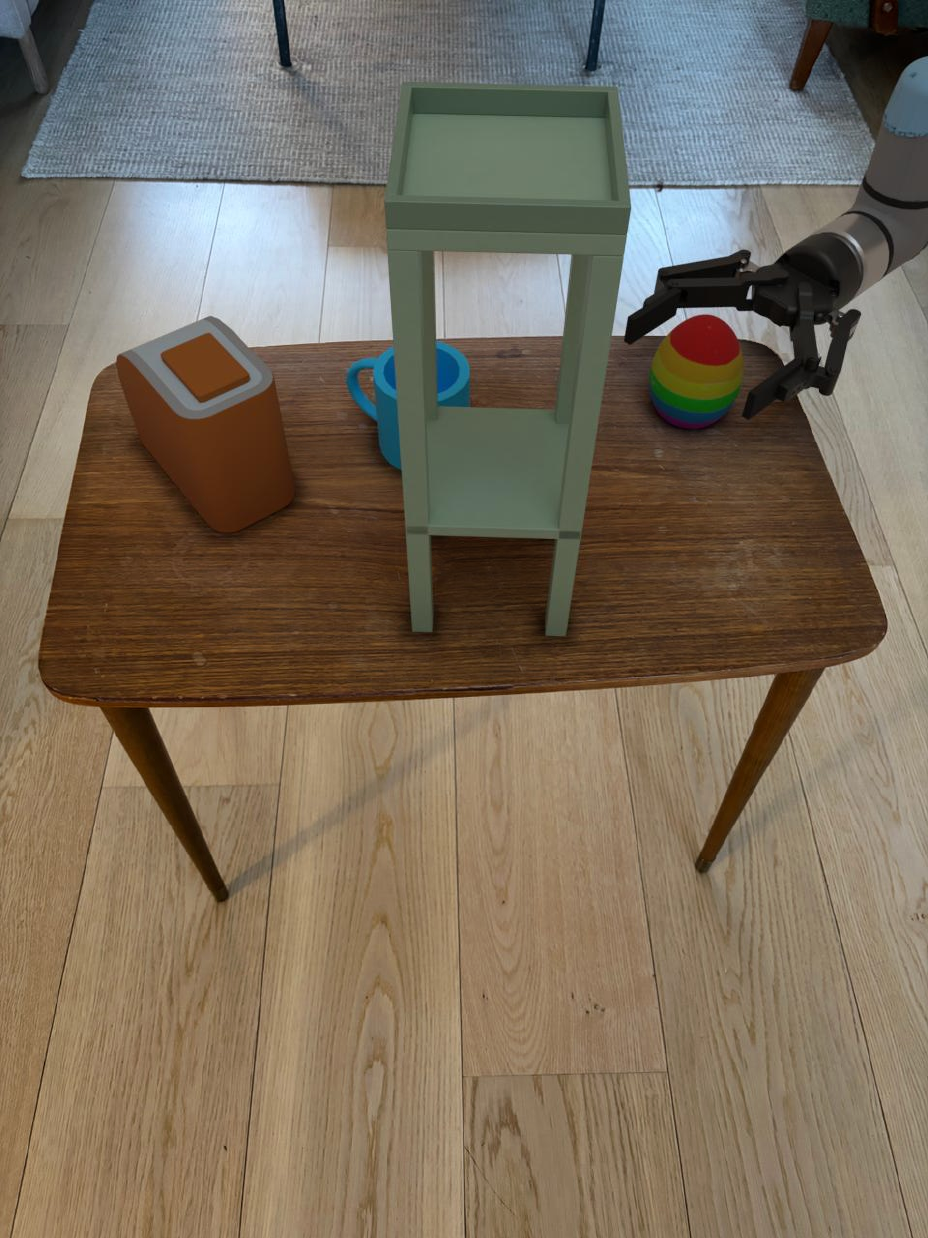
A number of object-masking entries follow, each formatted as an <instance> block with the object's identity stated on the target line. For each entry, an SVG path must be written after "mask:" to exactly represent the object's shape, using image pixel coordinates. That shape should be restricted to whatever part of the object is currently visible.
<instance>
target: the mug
mask: <svg viewBox="0 0 928 1238" xmlns="http://www.w3.org/2000/svg"><path fill="white" fill-rule="evenodd" d="M436 349H437V394H438V406H444V407H471V406H470V403H471V402H470V401H471V400H470V397H471V396H470V395H471V394H470V393H471V392H470V391H471V367H470V365H469V362H468V359H467V357H466V356H465V355H464V354H463V353H461V352H460V351H459V349H457V348H455V347H453V346H451V345H450V344H448V343H445V342H442V341H437V340H436ZM363 370H373V371H372V377H373V388H374V398H375V404H374V403H373V402H372V401H371V400H370V399H369V398H368V397H367V395H366V394H365V392H364V390H363V389H362V387H361V386H360V382H359V373H361V372H362V371H363ZM345 379H346V380H345V384H346V387H347V391H348V393H349V394H350V396H351V398H352V400H353V401H354V403H355V404H356V405H357V406H358V407H359V408H360V409H361V410H362V412H363V413H365V414H366V415H367V416H369V417H370V418H371V419H372V420H374V421H375V422H376V423H377V435H378V446H379V448H380V451H381V455H382V456H383V458H384V459H385V460H386V462H388V463H389V465H391V466H393V467H394V468H396V469H397V470H400V471H402V469H401V453H400V438H399V423H398V407H397V392H396V377H395V362H394V346H390V347H389V348H388V349H386V350H385V351H384V352H383V353H381V354H380V355H379V356H378V357H364V358H362V359H359V360H356V361H354V362H353V363H352V365H350V367H349V368H348V370H347V371H346V378H345Z"/></svg>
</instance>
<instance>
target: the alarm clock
mask: <svg viewBox="0 0 928 1238" xmlns="http://www.w3.org/2000/svg"><path fill="white" fill-rule="evenodd" d="M115 366H116V370H117V377H118V381H119V383H120V386H121V387H120V388H121V389H122V392H123V395H124V398H125V400H126V403H127V407H128V409H129V412H130V415H131V418H132V420H133V424H134V426H135V430H136V432H137V435H138V438H139V440H140V443H141V444H142V446H143V447H144V448H145V449H146V450H147V451H148V454H150V455H151V457H152V458H153V459H154V460H155V461H156V463H157V464H158V465H159V467H161V469H162V470H163V471H164V472H165V474H166V475H167V476H168V477H169V479H170V480H171V481H172V482H173V483H174V484H175V486H176V487H177V488H178V490H179V491H180V492H181V493H182V494H183V496H184V497H185V498H186V500H187V501H188V502H189V503H190V505H191V506H192V507H193V508H194V509H195V511H196V512H197V513H198V515H199V516H200V517H201V518H202V519H203V521H204V522H205V523H206V524H207V526H208V527H210V528H211V529H212V530H214V531H216V532H218V533H222V534H231V533H236V532H239V531H242V530H245V529H246V528H247V527H249V526H252V525H254V524H255V523H258V522H259V521H261V520H263V519H265V518H267V517H269V516H271V515H273V514H274V513H276V512H278V511H281V510H282V509H285V508H286V507H287V506H289V505H290V504H291V502H293V500H294V498H295V496H296V486H295V480H294V477H293V476H294V474H293V471H292V465H291V459H290V455H289V449H288V444H287V440H286V434H285V427H284V423H283V422H284V421H283V418H282V412H281V407H280V402H279V401H280V400H279V397H278V391H277V385H276V380H275V375H274V373H273V371H272V370H271V369H270V368H269V367H268V365H266V364H265V363H264V361H263V360H261V358H260V357H259V356H258V355H257V354H256V353H255V352H254V351H253V350H252V349H251V348H250V347H249V346H248V344H246V343H245V342H244V340H242V339H241V338H240V337H239V335H238V334H237V333H236V332H235V331H234V329H232V328H231V327H229V326H228V325H227V323H225V322H223V321H222V320H221V319H220V318H217V317H215V316H212V315H208V316H207V317H204V318H201V319H199V320H196V321H195V322H192V323H189V324H187V325H185V326H182V327H180V328H178V329H175V330H173V331H170V332H168V333H166V334H163V335H161V336H159V337H157V338H154V339H151V340H149V341H147V342H144V343H142V344H140V345H137V346H135V347H133V348H131V349H128V350H125V351H123V352H121V353H118V354H117V356H116V360H115Z"/></svg>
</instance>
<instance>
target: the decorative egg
mask: <svg viewBox="0 0 928 1238" xmlns="http://www.w3.org/2000/svg"><path fill="white" fill-rule="evenodd" d="M743 357H744V356H743V351H742V346H741V344H740V341H739V339H738V336H737V334H736V333H735V332H734V330H733V328H732V327H731V326H730V325H729V324H728V322H726V321H725V320H724V319H722V318H720V317H719V316H716V315H713V314H708V313H707V314H706V313H705V314H704V313H703V314H697V315H694V316H691V317H689V318H687V319H685V320H683V321H682V322H679V324H677V325H676V326H675V327H673V328H672V329H671V331H669V333H668V334H667V335H666V336H665V337H664V338H663V340H662V341H661V342H660V344H659V346H658V348H657V350H656V351H655V354H654V356H653V359H652V362H651V365H650V369H649V377H648V388H649V394H650V395H649V396H650V398H651V401H652V404H653V406H654V408H655V410H656V411H657V413H658V414H659V415H660V416H661V417H662V418H663V419H664V420H665V422H667V423H669V424H670V425H673V426H675V427H678V428H682V429H688V430H695V429H702V428H706V427H708V426H710V425H712V424H715V423H716V422H717V421H719V420H720V419H721V418H722V417H724V415H726V414H727V413H728V411H729V410H730V409H731V408H732V406H733V404H734V403H735V401H736V399H737V397H738V395H739V393H740V390H741V386H742V382H743V377H744V358H743Z"/></svg>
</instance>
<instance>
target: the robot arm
mask: <svg viewBox="0 0 928 1238" xmlns="http://www.w3.org/2000/svg"><path fill="white" fill-rule="evenodd" d="M927 248H928V55H927V56H924V57H921V58H918V59H916V60H914V61H912V62H911V63H910V64H908V65H907V66H906V67H905V68H904V70H903V71H902V72H901V74H900V76H899V79H898V81H897V83H896V85H895V87H894V89H893V91H892V94H891V96H890V99H889V101H888V103H887V105H886V108H885V109H884V113H883V116H882V120H881V124H880V127H879V130H878V134H877V136H876V139H875V143H874V147H873V150H872V153H871V155H870V159H869V162H868V165H867V167H866V171H865V172H864V175H863V178H862V180H861V183H860V186H859V189H858V191H857V195H856V197H855V200H854V203H853V204H852V206H851V207H850V208H849V209H848V210H846V211H845V212H843V213H842V214H841V215H840V216H838V217H836V218H834V219H832V220H831V221H829V222H828V223H826V224H825V225H823V226H822V227H820V228H818V229H816V230H815V231H814V232H812V233H811V234H810V235H808V236H807V237H806V238H804V239H801V240H800V241H799V242H797V243H796V244H795V245H793V246H791V247H790V248H788V249H787V250H785V251H784V252H783V253H782V254H781V255H780V256H779V257H778V258H777V259H776V261H774V262H773V263H772V264H768V265H762V266H759V265H757V264H756V263H754V262H753V261H752V260H751V258H752V257H751V256H752V252H751V251H750V250H748V249H740V250H738V251H736V252H734V253H731V254H730V255H727V256H721V257H715V258H710V259H703V260H698V261H692V262H686V263H682V264H675V265H669V266H664V267H660V268H658V269H657V275H656V280H655V285H654V289H653V294H651V295H650V296H648V297H646V298H645V299H644V300H643V303H642V306H641V308H639V309H637V310H636V311H635V312H633V313H631V314H630V315H627V319H626V325H625V326H626V327H625V332H624V338H623V342H624V343H625V344H628V345H629V346H631V345H632V344H634V343H636V342H637V341H638V340H640V339H642V338H643V337H644V336H646V335H648V334H649V333H651V332H652V331H655V329H657V328H658V327H660V326H661V325H663V324H665V323H667V322H668V321H669V320H671V319H672V318H674V317H675V316H677V311H678V309H708V308H709V309H710V308H711V309H712V308H735V309H736V311H737V312H753V313H755V314H757V315H759V316H760V317H763V318H767V319H768V320H769V321H770V322H772V323H773V324H774V325H776V326H778V327H779V328H782V326H783V327H786V328H788V329H789V330H788V331H789V339H790V342H791V343H792V349H793V359H791V360H790V361H789V362H788V363H786V364H785V365H783V366H782V367H780V368H779V369H778V370H776V371H775V372H774V373H772V374H771V375H769V376H768V377H767V378H765V379H764V380H763V381H761V382H760V383H759V384H757V385H756V386H755V387H753V388H752V389H750V390H749V391H748V394H747V397H746V401H745V403H744V407H743V411H742V413H741V417H743V418H744V419H746V420H747V421H750V420H752V418H754V417H755V416H756V415H759V414H760V412H762V411H763V410H765V409H766V408H767V407H768V406H770V405H772V404H773V403H774V402H775V401H776V400H779V401H780V402H782V403H786V402H790V401H791V400H792V399H793V398H794V397H796V396H797V395H799V394H800V393H801V392H803V391H804V390H808V389H811V388H814V389H816V390H818V394H820V395H821V396H824V397H829V396H831V395H832V394H833V393H834V390H835V388H836V385H837V382H838V380H839V377H840V375H841V372H842V368H843V364H844V360H845V355H846V352H847V348H848V343H849V341H850V340H852V338H853V337H854V334H855V332H856V330H857V327H858V324H859V321H860V319H861V316H862V312H861V311H860V310H859V309H856V308H850V309H849V310H847V311H846V312H843V311H841V310H842V309H843V308H844V307H845V306H847V305H848V304H850V303H851V302H852V301H853V300H855V299H856V298H857V297H859V296H861V295H862V294H863V293H865V292H866V291H867V290H869V289H870V288H872V287H873V286H874V285H876V284H877V283H878V282H880V281H881V280H882V279H883V278H885V277H886V276H888V275H889V274H890V273H892V272H894V271H895V270H896V269H898V268H900V267H901V266H902V265H904V264H905V263H908V262H910V261H911V260H913V259H915V258H917V256H919V255H920V254H921V252H922V251H924V250H926V249H927ZM750 288H751V297H750V298H748V294H749V291H750ZM827 323H828V324H829V328H828V330H829V332H830V334H829V336H830V338H832V339H831V340H830V344H829V346H828V351H827V354H826V355H827V356H826V359H825V362H824V366H822V365H820V364H821V361H822V357H823V356H819V353H818V346H817V345H818V344H817V338H816V330H815V326H820V325H824V324H827Z"/></svg>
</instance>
